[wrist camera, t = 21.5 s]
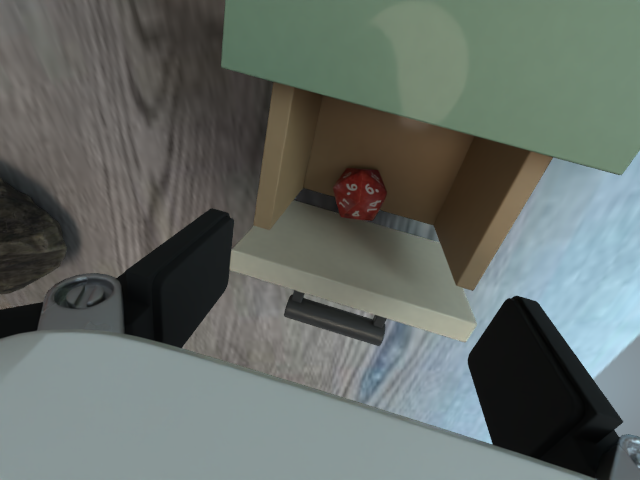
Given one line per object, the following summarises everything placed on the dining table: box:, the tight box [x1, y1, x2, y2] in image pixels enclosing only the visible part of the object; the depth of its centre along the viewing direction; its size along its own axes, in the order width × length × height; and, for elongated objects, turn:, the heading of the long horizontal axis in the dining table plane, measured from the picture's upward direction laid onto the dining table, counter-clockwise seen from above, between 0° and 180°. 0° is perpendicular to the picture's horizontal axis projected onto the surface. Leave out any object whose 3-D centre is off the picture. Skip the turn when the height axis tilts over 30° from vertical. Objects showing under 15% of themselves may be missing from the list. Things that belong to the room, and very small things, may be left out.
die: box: [333, 168, 387, 221], centre depth 17 cm, size 3×3×3 cm
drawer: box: [229, 82, 553, 346], centre depth 15 cm, size 19×12×8 cm, turn 167°
